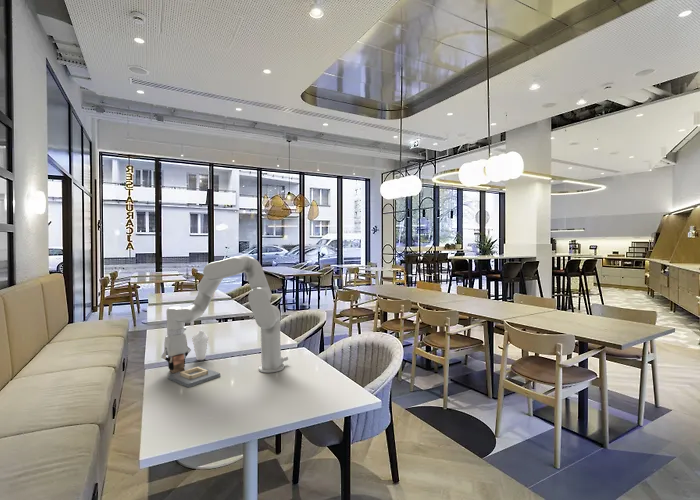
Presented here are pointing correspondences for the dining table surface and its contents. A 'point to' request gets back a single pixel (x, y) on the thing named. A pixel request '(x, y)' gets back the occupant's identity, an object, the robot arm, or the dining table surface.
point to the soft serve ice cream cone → (200, 344)
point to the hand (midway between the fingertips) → (177, 367)
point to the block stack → (178, 363)
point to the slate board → (193, 376)
